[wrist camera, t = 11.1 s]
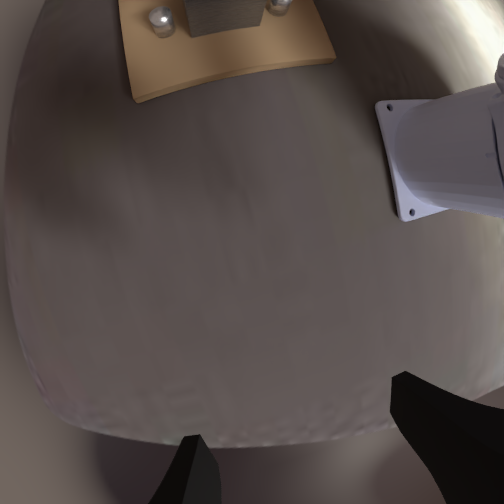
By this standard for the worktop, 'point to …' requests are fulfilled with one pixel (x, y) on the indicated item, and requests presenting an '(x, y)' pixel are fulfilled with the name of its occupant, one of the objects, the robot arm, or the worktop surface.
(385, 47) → the worktop surface
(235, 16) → the plate
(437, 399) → the robot arm
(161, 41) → the pin tray
